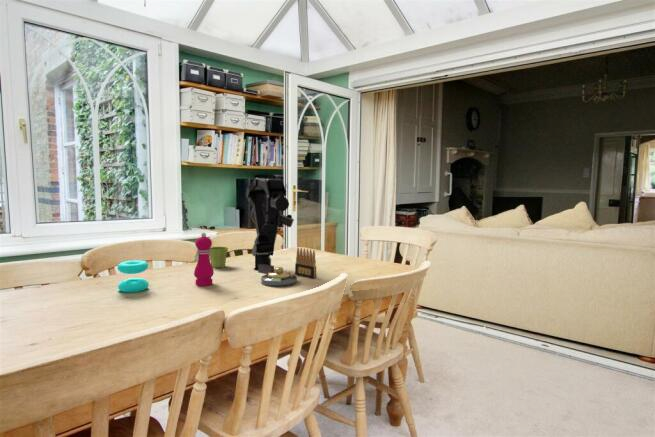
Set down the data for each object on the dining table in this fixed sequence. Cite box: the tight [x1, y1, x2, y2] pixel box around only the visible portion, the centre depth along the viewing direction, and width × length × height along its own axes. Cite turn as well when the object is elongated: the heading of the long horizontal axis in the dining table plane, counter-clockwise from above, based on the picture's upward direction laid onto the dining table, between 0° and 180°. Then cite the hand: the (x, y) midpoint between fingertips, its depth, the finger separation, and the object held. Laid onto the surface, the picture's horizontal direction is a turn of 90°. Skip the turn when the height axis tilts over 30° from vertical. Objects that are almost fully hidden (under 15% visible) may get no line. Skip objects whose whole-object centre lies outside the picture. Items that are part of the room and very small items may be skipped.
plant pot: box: [209, 246, 229, 269], centre depth 188 cm, size 9×9×9 cm
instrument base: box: [260, 274, 298, 288], centre depth 163 cm, size 14×14×3 cm
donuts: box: [117, 259, 149, 293], centre depth 148 cm, size 10×10×10 cm
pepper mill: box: [193, 232, 215, 287], centre depth 157 cm, size 7×7×20 cm
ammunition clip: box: [294, 247, 317, 280], centre depth 173 cm, size 11×2×12 cm, turn 52°
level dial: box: [257, 264, 291, 279], centre depth 164 cm, size 15×9×4 cm, turn 56°
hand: (272, 245), depth 173 cm, fingers closed
